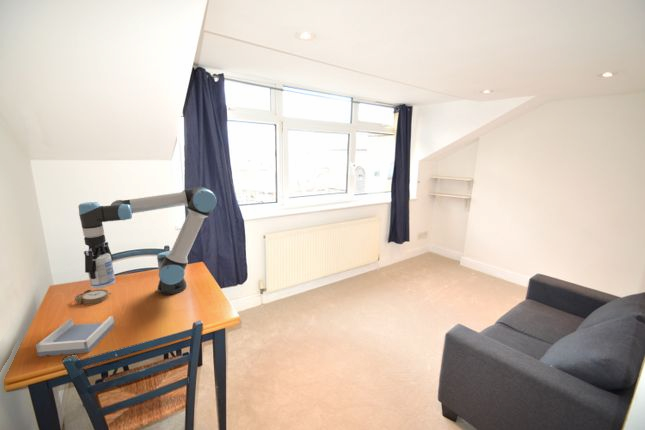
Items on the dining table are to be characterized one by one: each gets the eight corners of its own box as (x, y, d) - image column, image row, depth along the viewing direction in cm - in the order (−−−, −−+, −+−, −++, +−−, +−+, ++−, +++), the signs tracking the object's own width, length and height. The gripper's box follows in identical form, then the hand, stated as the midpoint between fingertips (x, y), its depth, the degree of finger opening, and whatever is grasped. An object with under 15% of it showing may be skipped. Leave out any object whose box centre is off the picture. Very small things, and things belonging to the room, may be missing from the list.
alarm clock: (101, 299, 148) (68, 296, 144) (101, 307, 149) (68, 305, 145) (113, 289, 159) (82, 286, 155) (112, 297, 159) (82, 295, 156)
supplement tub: (115, 285, 135) (109, 257, 131) (89, 291, 130) (83, 261, 126) (116, 278, 142) (111, 251, 139) (92, 283, 137) (86, 255, 134)
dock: (114, 325, 130) (113, 316, 129) (89, 352, 112) (86, 341, 111) (71, 328, 127) (69, 318, 126) (38, 356, 110) (35, 345, 109)
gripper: (100, 229, 141) (107, 270, 146) (67, 243, 119) (78, 291, 124) (116, 228, 142) (123, 269, 147) (87, 242, 120) (96, 289, 125)
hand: (102, 279), depth 135 cm, fingers closed on supplement tub, 10 cm apart
